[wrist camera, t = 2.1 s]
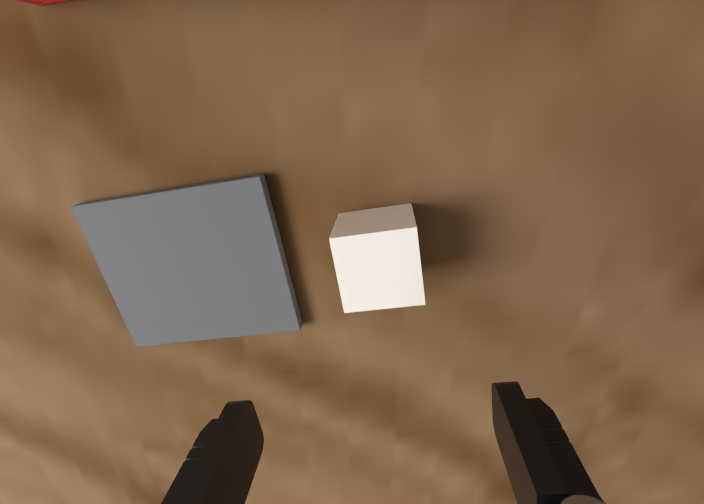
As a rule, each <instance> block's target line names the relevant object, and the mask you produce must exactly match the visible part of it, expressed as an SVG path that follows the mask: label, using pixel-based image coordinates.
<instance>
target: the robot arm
mask: <svg viewBox="0 0 704 504" xmlns="http://www.w3.org/2000/svg"><path fill="white" fill-rule="evenodd" d="M492 410H493V425H494V431H495V435H496V439H497V442H498V445H499V448H500V451H501V454H502V457H503V461H504V464H505V467H506V470H507V473H508V476H509V479H510V482H511V485H512V488H513V491H514V494H515V497H516V500H517V503H518V504H606V503H605V502H604V501H603V500H602V499H601V497H600V496H599V494H598V493H597V491H596V489H595V487H594V485H593V483H592V481H591V480H590V478H589V476H588V474H587V472H586V470H585V468H584V467H583V465H582V463H581V461H580V459H579V457H578V455H577V454H576V452H575V450H574V448H573V446H572V444H571V443H570V442H569V439H568V437H567V435H566V433H565V431H564V429H562V426H561V424H560V422H559V420H558V418H557V416H556V415H555V413H554V411H553V410H552V409H551V408H550V407H549V406H548V405H546V404H545V403H544V402H543V401H542V400H541V399H540V398H531V399H526V398H525V396H524V394H523V391H522V389H521V387H520V385H519V383H518V382H517V381H515V382H502V383H492ZM263 444H264V437H263V432H262V429H261V426H260V423H259V420H258V417H257V414H256V411H255V408H254V405H253V403H252V402H251V401H250V400H246V401H232V402H228V403H227V404H226V405H225V407H224V409H223V411H222V413H221V414H220V416H219V418H218V419H212V420H211V421H210V422H209V423H208V424H207V425H206V426H205V428H204V429H203V430H202V431H201V432H200V433H199V435H198V437H197V439H196V441H195V442H194V444H193V446H192V447H193V448H192V449H191V450H190V452H189V453H188V455H187V457H186V461H184V463H183V465H182V466H181V468H180V470H179V472H178V474H177V476H176V477H175V479H174V481H173V483H172V485H171V487H170V488H169V490H168V492H167V494H166V496H165V498H164V499H163V501H162V503H161V504H245V501H246V498H247V495H248V492H249V489H250V486H251V483H252V481H253V478H254V475H255V472H256V469H257V466H258V463H259V460H260V457H261V454H262V451H263Z"/></svg>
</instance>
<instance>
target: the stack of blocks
mask: <svg viewBox="0 0 704 504" xmlns="http://www.w3.org/2000/svg"><path fill="white" fill-rule="evenodd" d="M17 1H21V2H26V3H30V4H35V5H45V4H50V3H56V2H63V1H68V0H17Z"/></svg>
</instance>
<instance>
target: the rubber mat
mask: <svg viewBox="0 0 704 504" xmlns="http://www.w3.org/2000/svg"><path fill="white" fill-rule="evenodd" d="M71 209H72V211H73V213H74V215H75V217H76V219H77V221H78V223H79V226H80V228H81V230H82V232H83V234H84V236H85V238H86V241H87V243H88V245H89V247H90V249H91V251H92V253H93V255H94V258H95V260H96V262H97V264H98V266H99V268H100V270H101V273H102V275H103V277H104V279H105V281H106V283H107V285H108V287H109V290H110V292H111V294H112V296H113V298H114V300H115V302H116V304H117V307H118V309H119V311H120V313H121V315H122V317H123V319H124V322H125V324H126V326H127V328H128V330H129V332H130V334H131V336H132V339H133V341H134V343H135V345H136V346H146V345H157V344H167V343H177V342H187V341H198V340H208V339H218V338H228V337H239V336H249V335H259V334H269V333H279V332H290V331H300V329H301V326H302V324H303V322H302V319H301V315H300V311H299V307H298V303H297V299H296V295H295V291H294V288H293V284H292V280H291V276H290V272H289V268H288V264H287V260H286V257H285V253H284V249H283V245H282V241H281V237H280V233H279V230H278V226H277V222H276V218H275V214H274V210H273V206H272V202H271V199H270V195H269V191H268V187H267V183H266V179H265V175H264V174H258V175H252V176H245V177H239V178H233V179H227V180H221V181H214V182H208V183H202V184H196V185H190V186H183V187H177V188H171V189H165V190H159V191H152V192H146V193H140V194H134V195H128V196H121V197H115V198H109V199H103V200H97V201H90V202H84V203H80V204H77V205H74V206H72V207H71Z"/></svg>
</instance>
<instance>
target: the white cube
mask: <svg viewBox="0 0 704 504" xmlns="http://www.w3.org/2000/svg"><path fill="white" fill-rule="evenodd" d="M329 241H330V246H331V250H332V255H333V260H334V265H335V270H336V275H337V280H338V285H339V290H340V294H341V299H342V304H343V309H344V313H349V312H358V311H368V310H378V309H388V308H397V307H407V306H417V305H425V297H424V287H423V278H422V269H421V260H420V251H419V241H418V232H417V225H416V221H415V217H414V213H413V209H412V205H411V203H409V204H402V205H395V206H388V207H380V208H373V209H366V210H359V211H352V212H345V213H339V214H338V217H337V219H336V222H335V224H334V227H333V230H332V232H331V235H330V237H329Z"/></svg>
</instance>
